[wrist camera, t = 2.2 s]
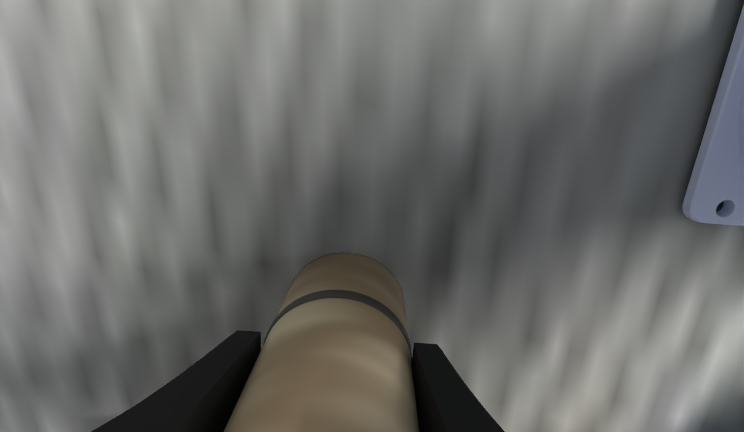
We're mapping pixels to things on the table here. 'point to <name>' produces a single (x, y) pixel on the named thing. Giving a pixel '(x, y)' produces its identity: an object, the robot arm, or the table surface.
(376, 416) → the beech peg
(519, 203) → the table surface
